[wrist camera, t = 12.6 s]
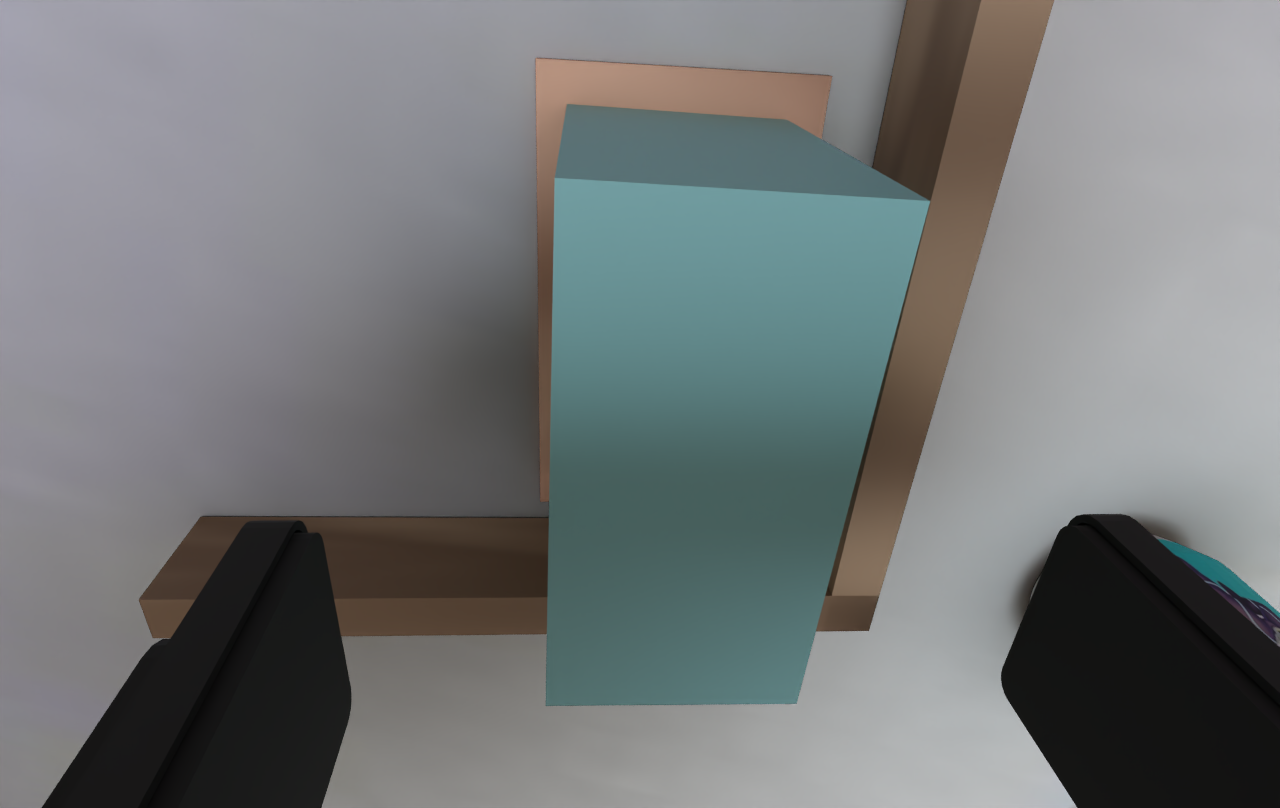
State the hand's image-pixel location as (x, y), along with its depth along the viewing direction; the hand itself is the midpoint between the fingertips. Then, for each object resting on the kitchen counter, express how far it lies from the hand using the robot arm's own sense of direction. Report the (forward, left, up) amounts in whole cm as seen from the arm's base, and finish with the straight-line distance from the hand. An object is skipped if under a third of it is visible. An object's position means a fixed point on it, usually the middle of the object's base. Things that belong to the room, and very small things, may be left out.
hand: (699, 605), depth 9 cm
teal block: (0, 0, -9) cm, 9 cm away
